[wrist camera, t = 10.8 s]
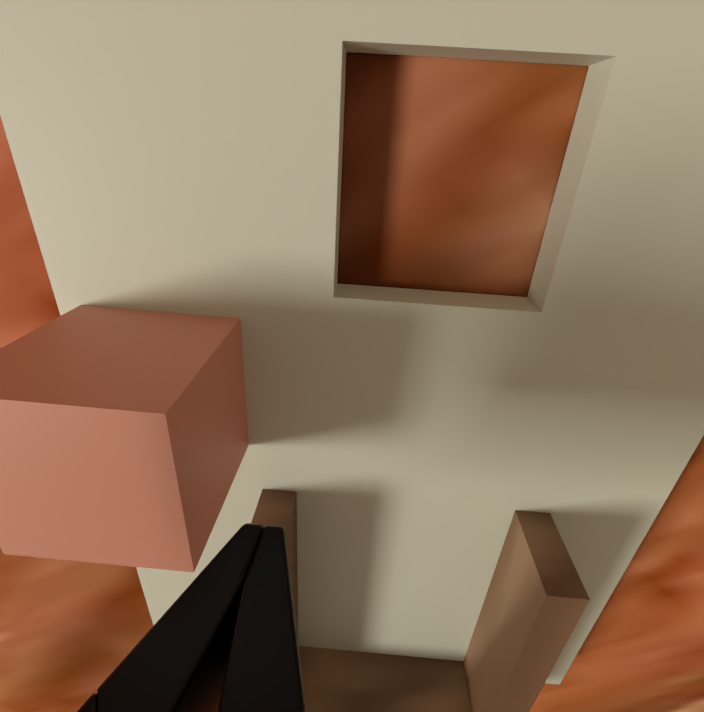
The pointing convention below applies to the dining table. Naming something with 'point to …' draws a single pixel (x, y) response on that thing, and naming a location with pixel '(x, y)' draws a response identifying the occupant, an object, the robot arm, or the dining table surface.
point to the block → (120, 436)
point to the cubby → (486, 648)
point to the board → (386, 304)
